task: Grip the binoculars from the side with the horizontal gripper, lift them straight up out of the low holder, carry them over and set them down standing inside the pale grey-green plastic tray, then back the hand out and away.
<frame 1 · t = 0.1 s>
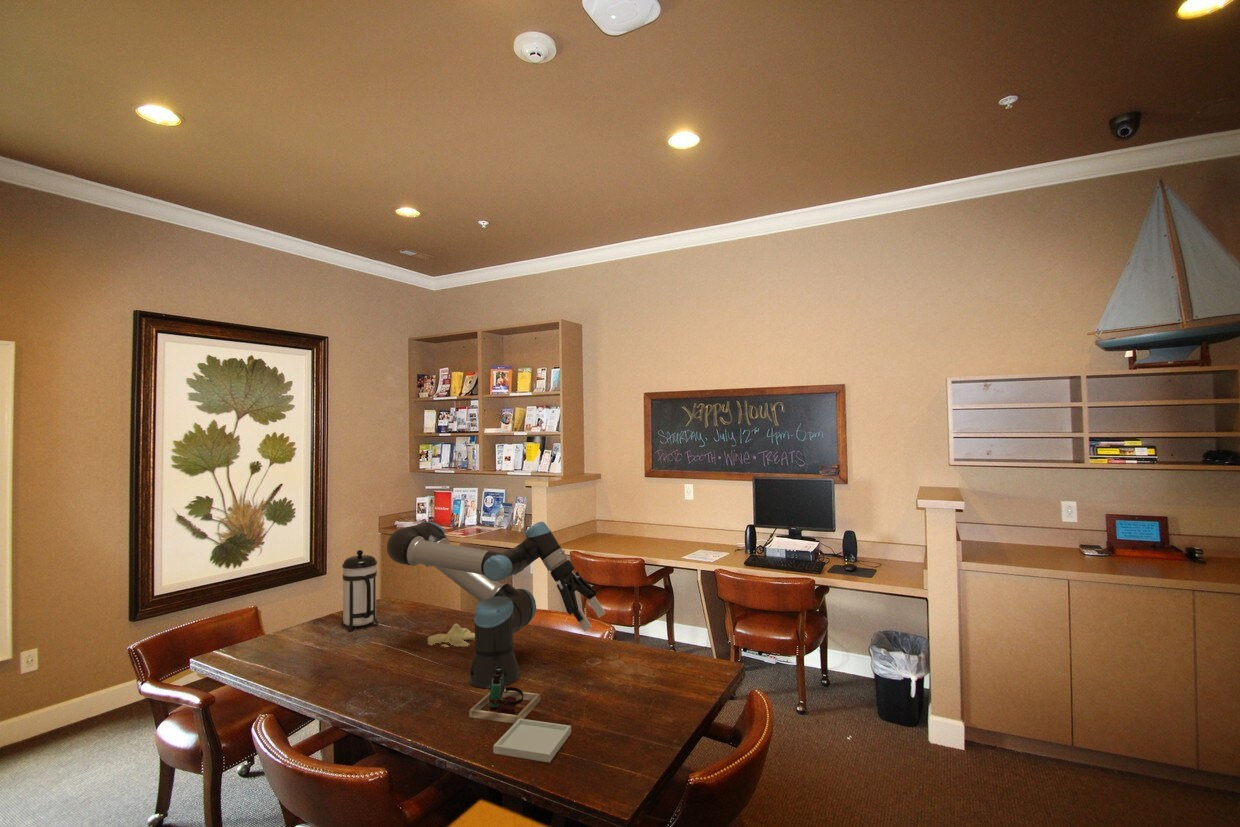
hand: (595, 622, 182), 15 cm above the table, fingers open, 13 cm apart
holder: (505, 708, 157), on the table
tray: (533, 742, 139), on the table
binoculars: (505, 709, 157), on the table
cloth: (456, 642, 211), on the table
coffee press: (361, 626, 228), on the table
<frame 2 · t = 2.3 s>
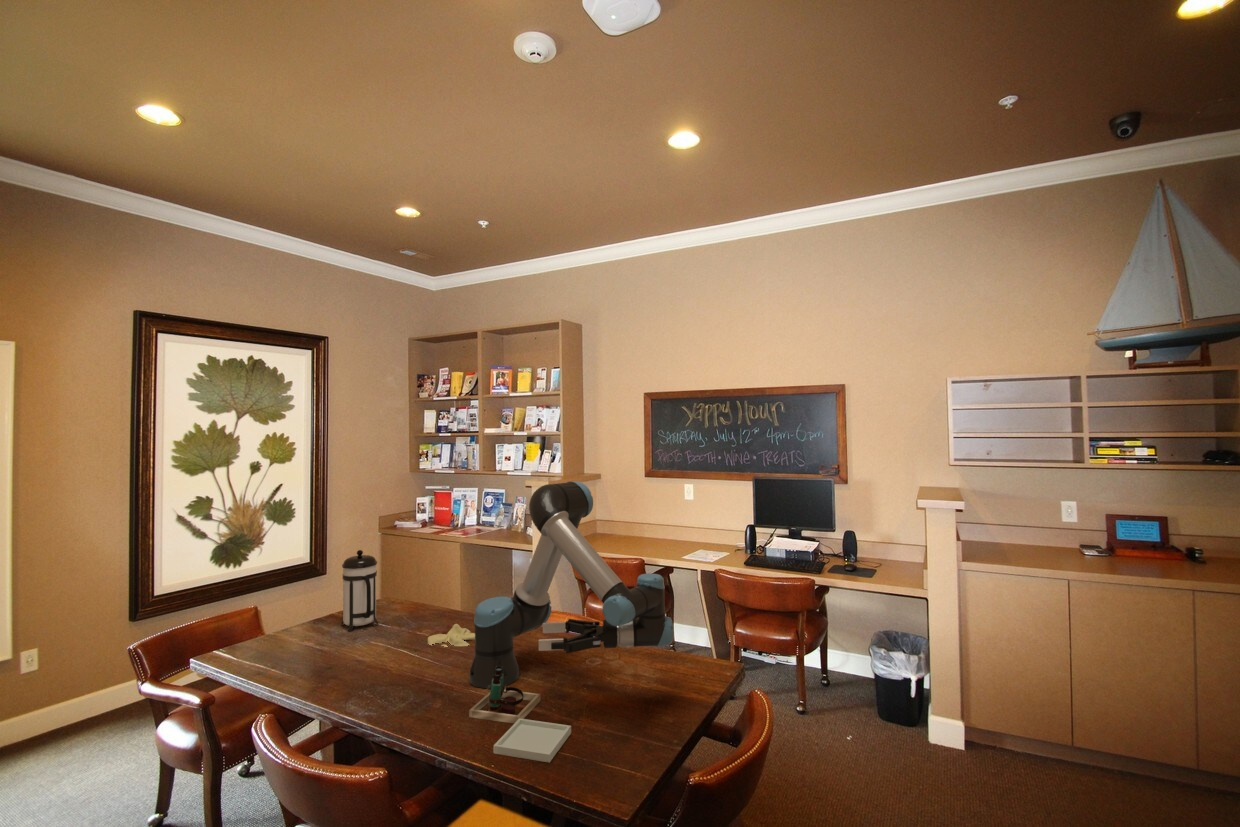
hand: (540, 636, 158), 19 cm above the table, fingers open, 13 cm apart
nothing on the table moved.
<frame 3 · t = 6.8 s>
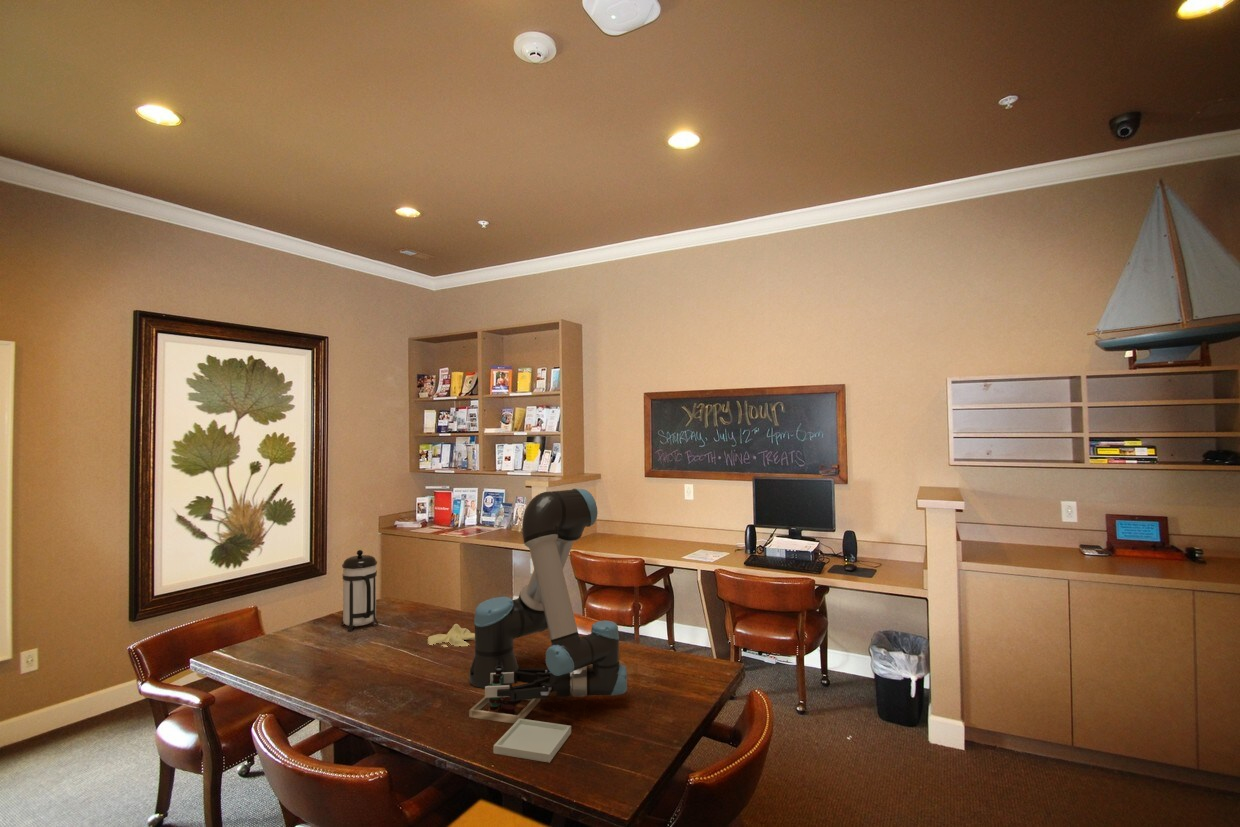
hand: (488, 685, 157), 7 cm above the table, fingers closed on binoculars, 8 cm apart
binoculars: (505, 709, 157), on the table, touching gripper
everything else where it was.
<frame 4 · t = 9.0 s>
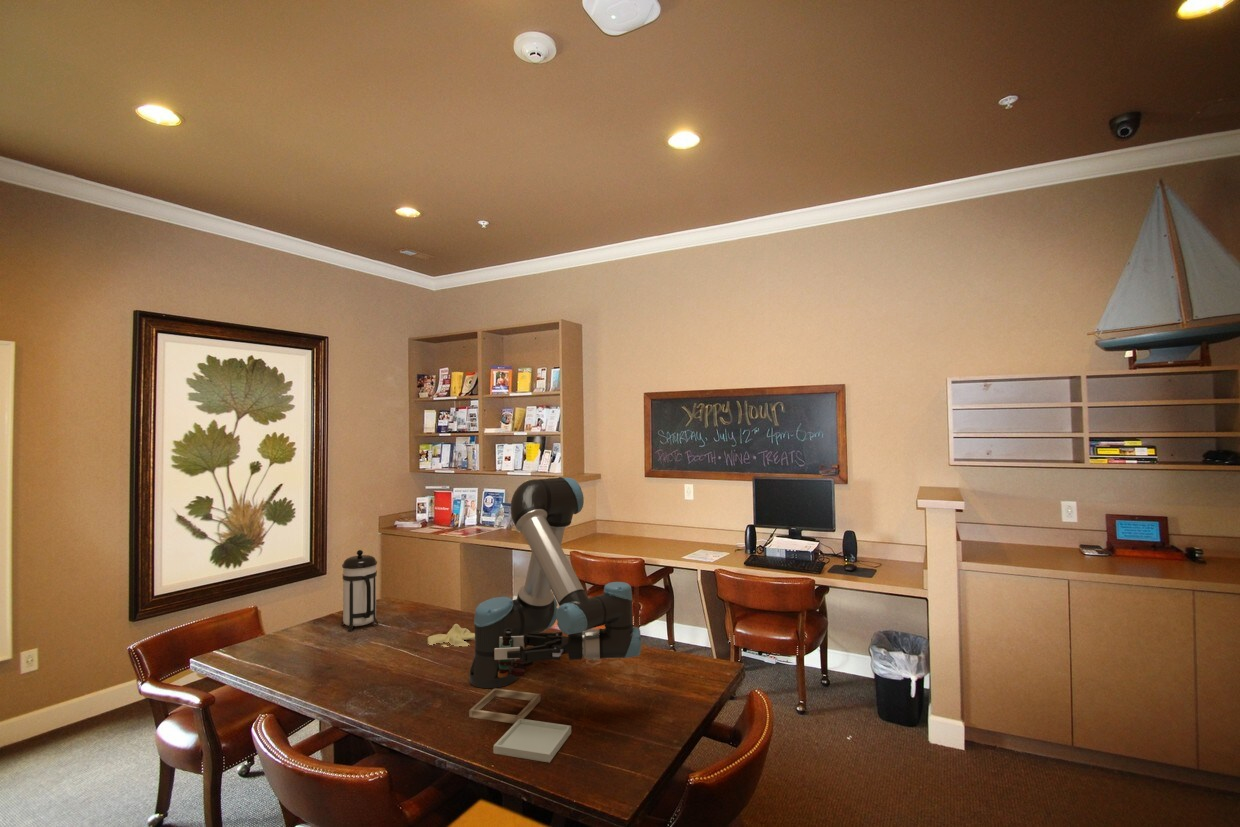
hand: (497, 647, 152), 19 cm above the table, fingers closed on binoculars, 8 cm apart
binoculars: (515, 673, 152), point 12 cm above the table, touching gripper
everything else where it was.
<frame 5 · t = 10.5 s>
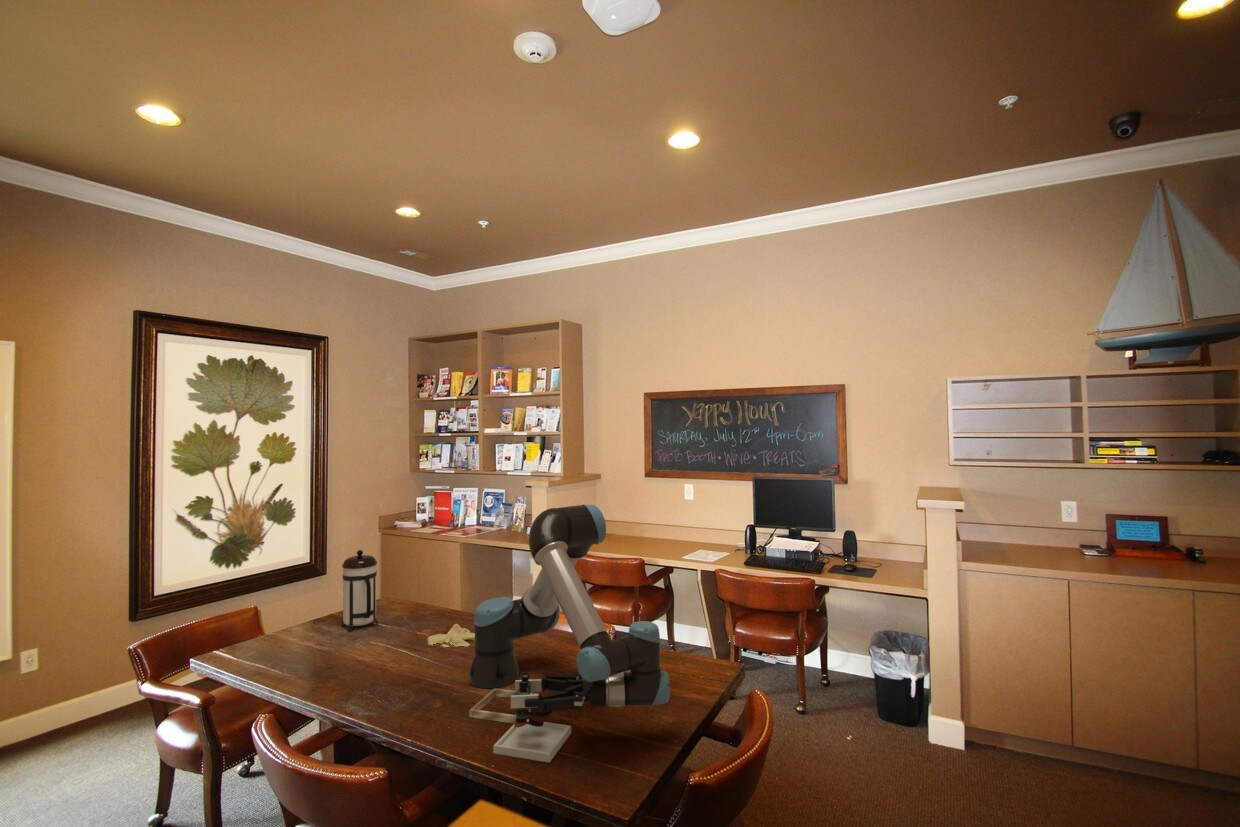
hand: (513, 693, 139), 12 cm above the table, fingers closed on binoculars, 8 cm apart
binoculars: (533, 721, 140), point 5 cm above the table, touching gripper
everything else where it was.
when the fingers open (9 cm above the table, at t = 11.5 s): binoculars drops 1 cm, resting on tray.
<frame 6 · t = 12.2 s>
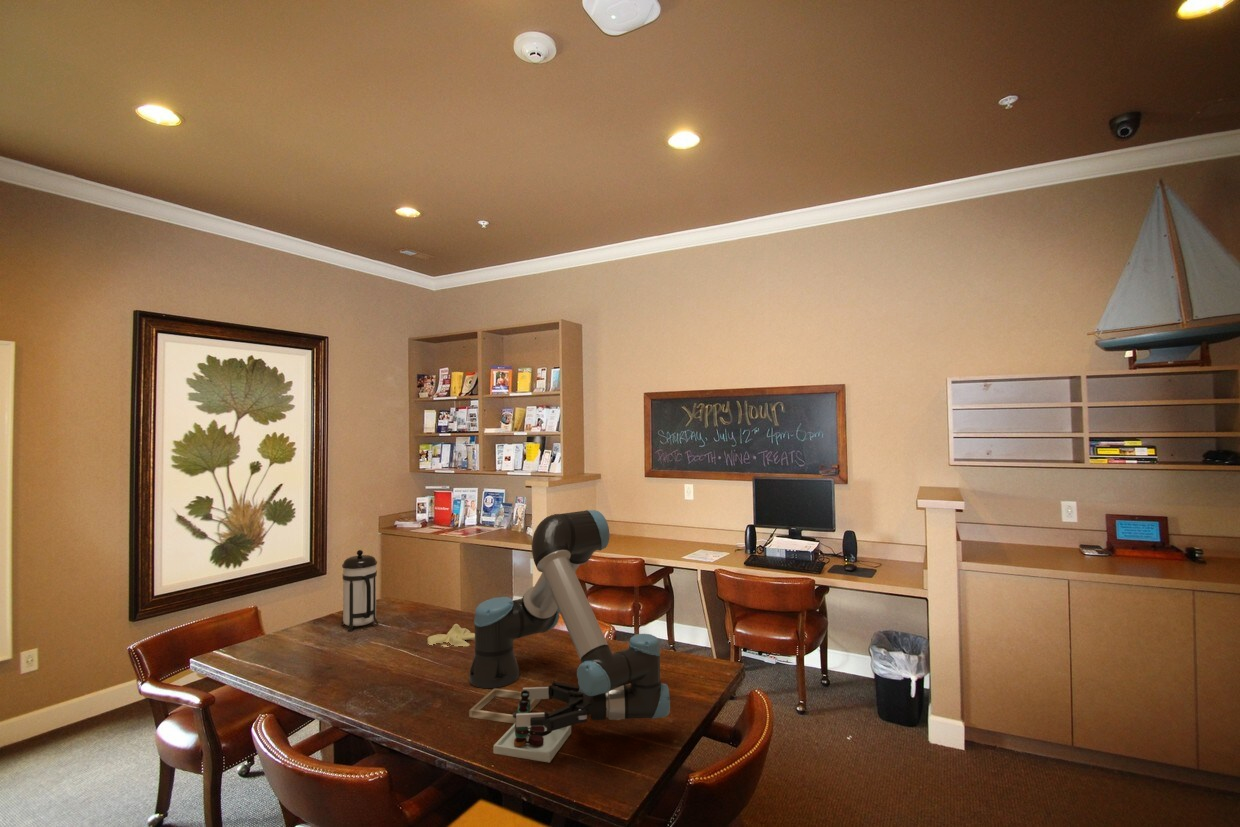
hand: (519, 706, 139), 9 cm above the table, fingers open, 13 cm apart
binoculars: (533, 740, 140), point 1 cm above the table, touching tray
everything else where it was.
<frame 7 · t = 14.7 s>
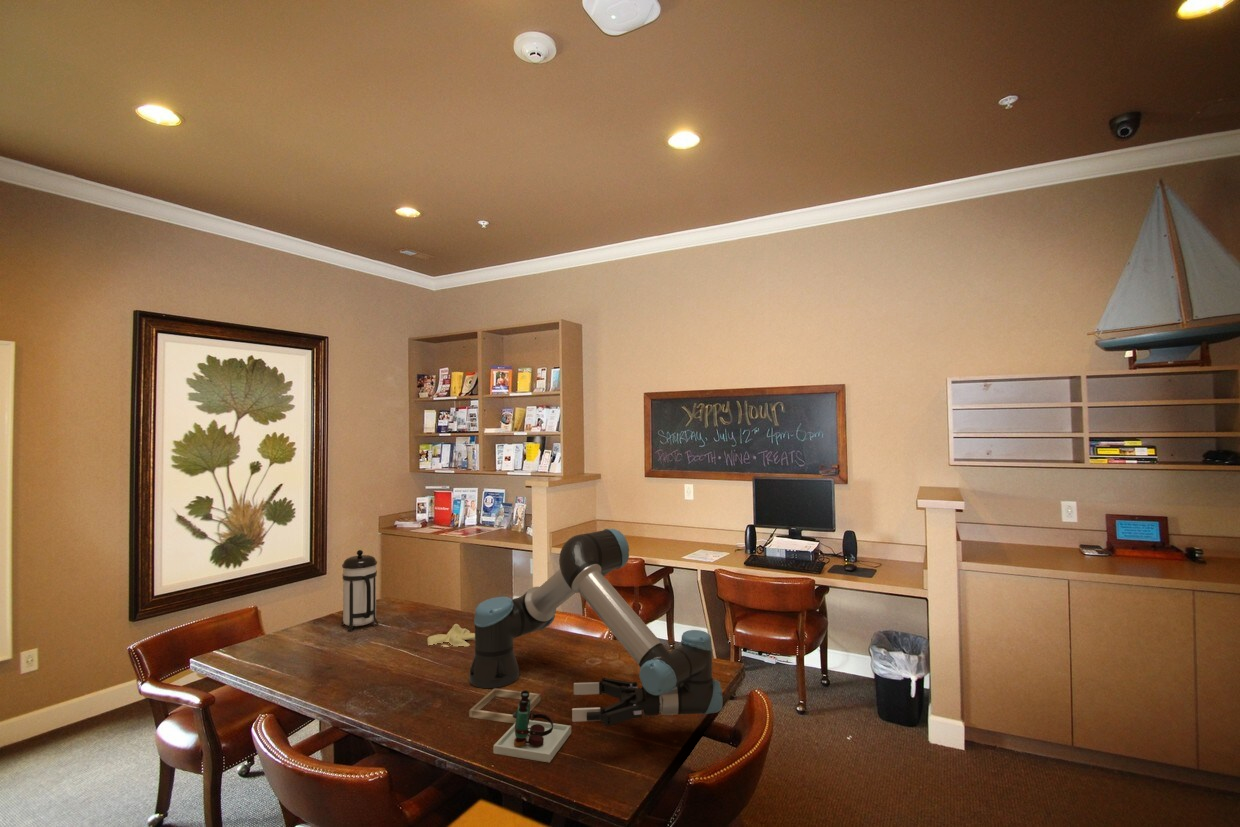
hand: (572, 701, 140), 9 cm above the table, fingers open, 13 cm apart
nothing on the table moved.
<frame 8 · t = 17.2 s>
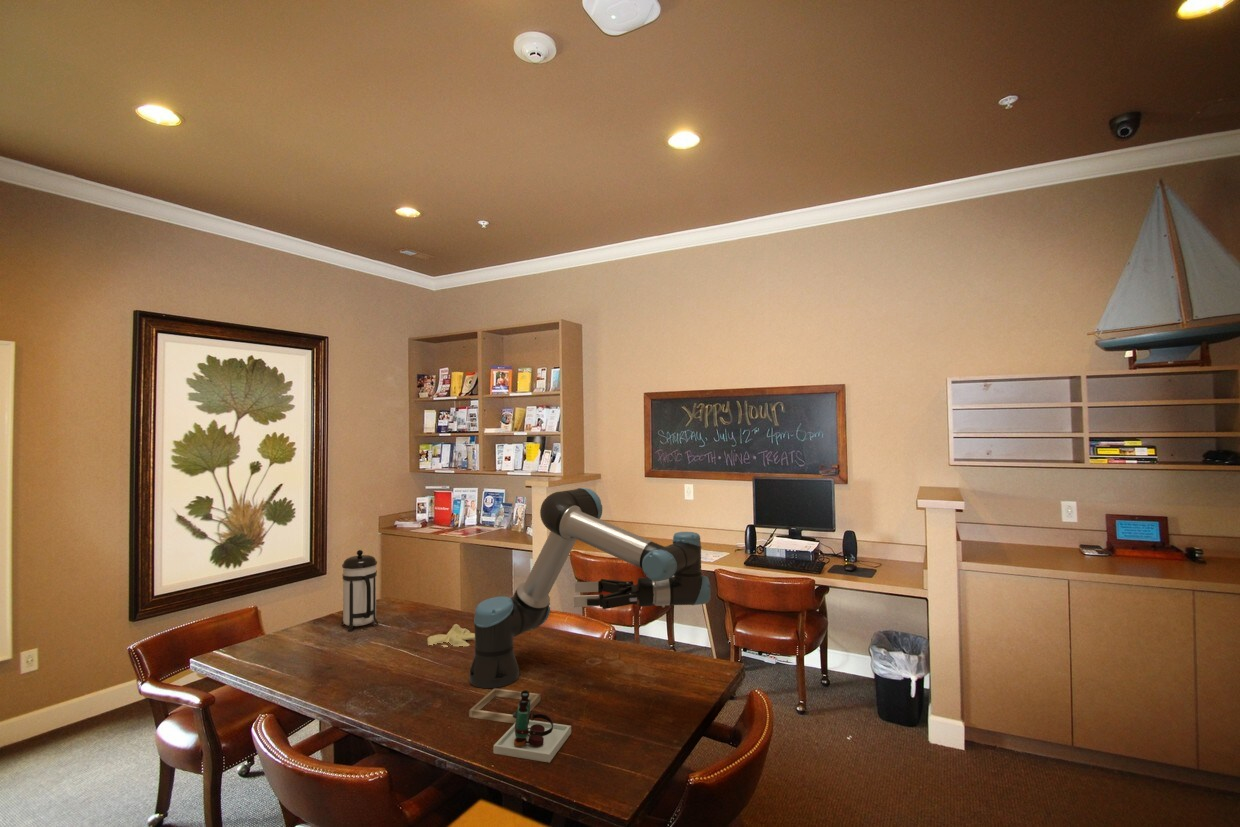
hand: (574, 594, 154), 32 cm above the table, fingers open, 13 cm apart
nothing on the table moved.
at the end: binoculars inside the target area on the tray (0.1 cm from its centre), point 0.6 cm above the tray's base; binoculars tilted 0°; the gripper is holding nothing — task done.
